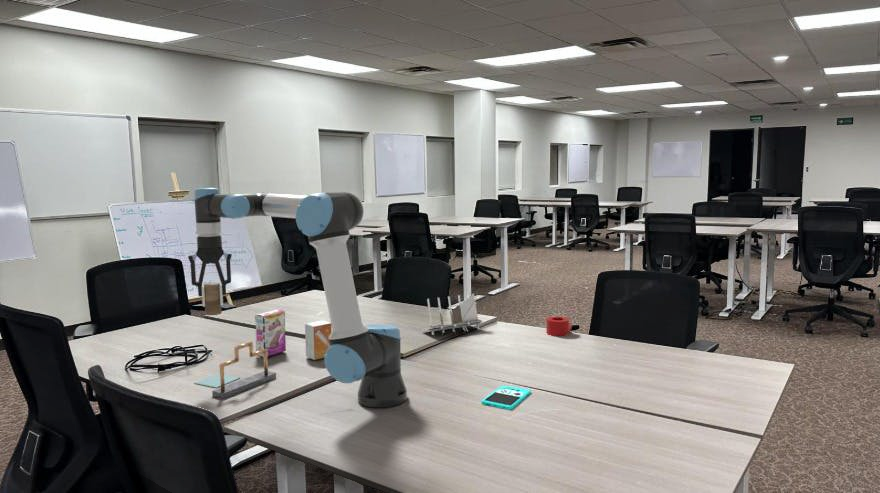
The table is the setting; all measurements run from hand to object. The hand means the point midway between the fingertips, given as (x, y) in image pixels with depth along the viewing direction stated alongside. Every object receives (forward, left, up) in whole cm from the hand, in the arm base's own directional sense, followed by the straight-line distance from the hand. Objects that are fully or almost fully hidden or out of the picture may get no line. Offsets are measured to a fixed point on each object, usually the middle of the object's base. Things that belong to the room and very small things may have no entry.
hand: (213, 304), depth 195 cm
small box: (+16, -36, -26) cm, 47 cm away
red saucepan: (+15, -141, -27) cm, 144 cm away
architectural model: (+29, -97, -27) cm, 105 cm away
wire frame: (-9, -9, -26) cm, 29 cm away
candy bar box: (+26, -19, -26) cm, 42 cm away
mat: (0, 0, -26) cm, 26 cm away
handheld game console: (-47, -85, -27) cm, 101 cm away
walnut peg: (0, 0, -3) cm, 3 cm away
